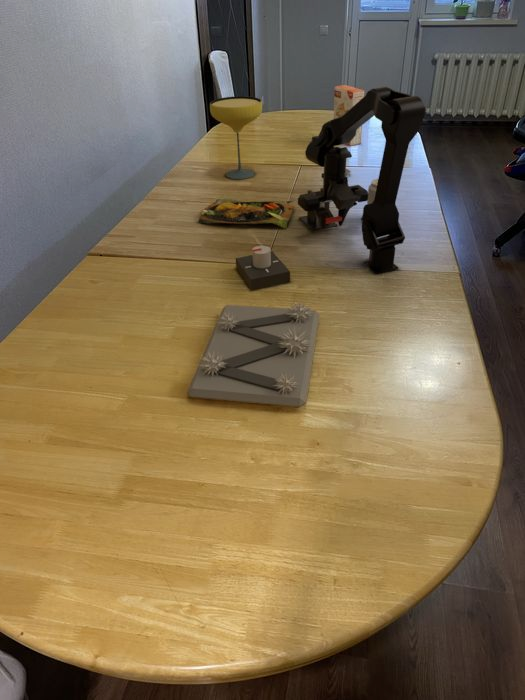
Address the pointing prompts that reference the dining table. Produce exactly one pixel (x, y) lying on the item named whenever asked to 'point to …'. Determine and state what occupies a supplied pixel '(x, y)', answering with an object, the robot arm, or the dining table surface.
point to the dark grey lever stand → (315, 218)
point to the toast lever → (329, 212)
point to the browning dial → (261, 257)
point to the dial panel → (262, 272)
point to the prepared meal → (248, 212)
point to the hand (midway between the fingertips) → (331, 227)
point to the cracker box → (347, 105)
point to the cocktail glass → (237, 122)
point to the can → (372, 191)
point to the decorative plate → (258, 356)
